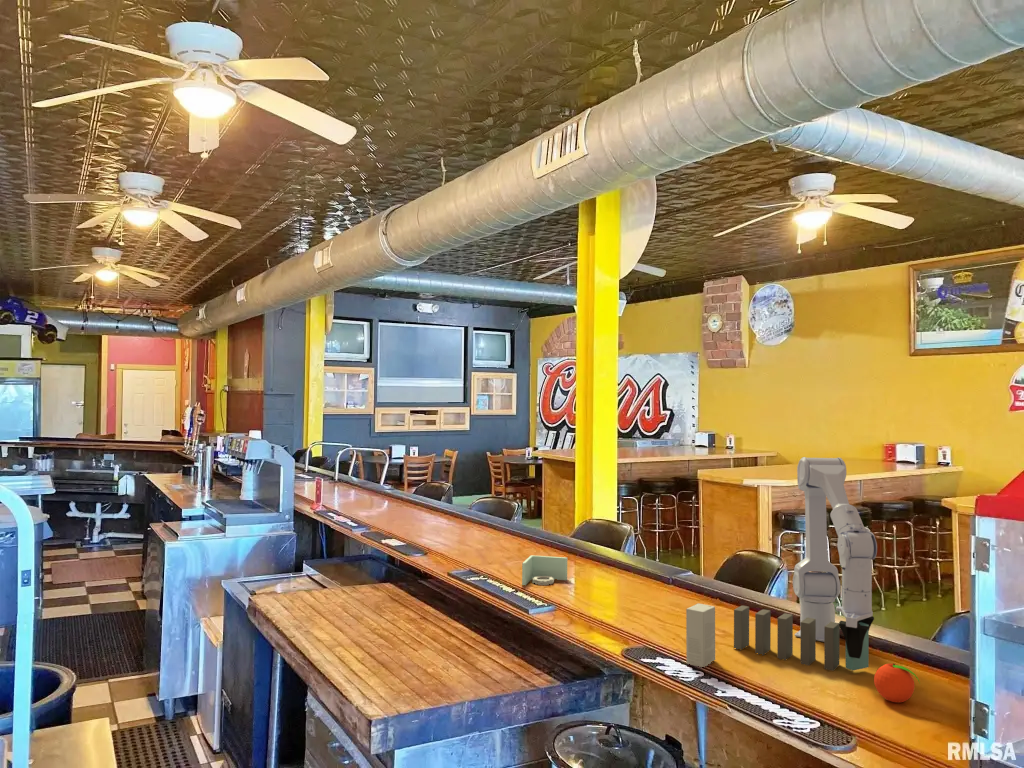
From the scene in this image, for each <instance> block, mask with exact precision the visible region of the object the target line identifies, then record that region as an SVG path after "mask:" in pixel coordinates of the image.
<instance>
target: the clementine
mask: <svg viewBox="0 0 1024 768" xmlns="http://www.w3.org/2000/svg"><path fill="white" fill-rule="evenodd" d="M875 671H876V672H875V673H874V678H873V682H874V687H875V689H876V691H877V692H878V694H879V695H880V696H881V697H882V698H884V699H885V700H886V701H888V702H891V703H903V702H906V701H908V700H909V699H910V698H912V696H913V694H914V692H915V680H914V678H913V676H914V677H915V678H916V679H917V680H918V682H919V684H921V681H920V680H919V678H918V676H917V675H916V674H915V672H913V671H912V670H911V669H909V668H908V667H905V666H903V665H899V664H896V663H893V662H892V663H886V664H882V665H881V666H880V667H878V668H877V670H875ZM912 675H913V676H912Z"/></svg>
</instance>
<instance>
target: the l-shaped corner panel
mask: <svg viewBox="0 0 1024 768" xmlns="http://www.w3.org/2000/svg"><path fill="white" fill-rule="evenodd" d="M521 567H522V569H521V570H522V571H521V577H522V578H521V586H522V585H525V586H527V584H528V583H529V582H530V581H531V583H532V584H534V583H535V584H534V585H537V584H538V585H537V586H543V585H544V586H548V585H549V584H550V585H553V584H555V583H554V582H555V579H557V580H556V581H568V557H566V556H565V557H563V556H561V557H560V556H548V555H532V554H531V555H529V557H527V558H526V559H525V560H524V561H523V562H522V566H521ZM550 585H549V586H550Z"/></svg>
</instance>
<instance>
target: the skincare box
mask: <svg viewBox="0 0 1024 768" xmlns="http://www.w3.org/2000/svg"><path fill="white" fill-rule="evenodd" d="M685 610H686V612H685V613H686V617H685V618H686V623H685V625H686V629H685V630H686V633H685V634H686V639H685V640H686V655H685V656H686V664H687V665H689V664H690V666H695V667H698V666H699V668H702V667H704V668H706V667H707V666H709V665H710V664H712V663H713V662H712V661H714V660H715V661H716V607H715V606H714V605H709V604H704V603H696V604H694V605H692V606H690V607H687V608H686V609H685ZM715 661H714V662H715ZM711 662H712V663H711ZM708 664H709V665H708ZM705 666H706V667H705Z"/></svg>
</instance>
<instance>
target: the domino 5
mask: <svg viewBox="0 0 1024 768" xmlns="http://www.w3.org/2000/svg"><path fill="white" fill-rule="evenodd" d="M823 643H824V650H823V651H824V655H823V656H824V659H823V660H824V662H823V663H824V665H823V666H824V668H823V669H824V670H828V671H833V672H834V671H835V670H836V668H838V667H839V666H840V626H839V622H836V621H835V622H830V623H828V624H827V625H826V626H825V627H824V642H823Z"/></svg>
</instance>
